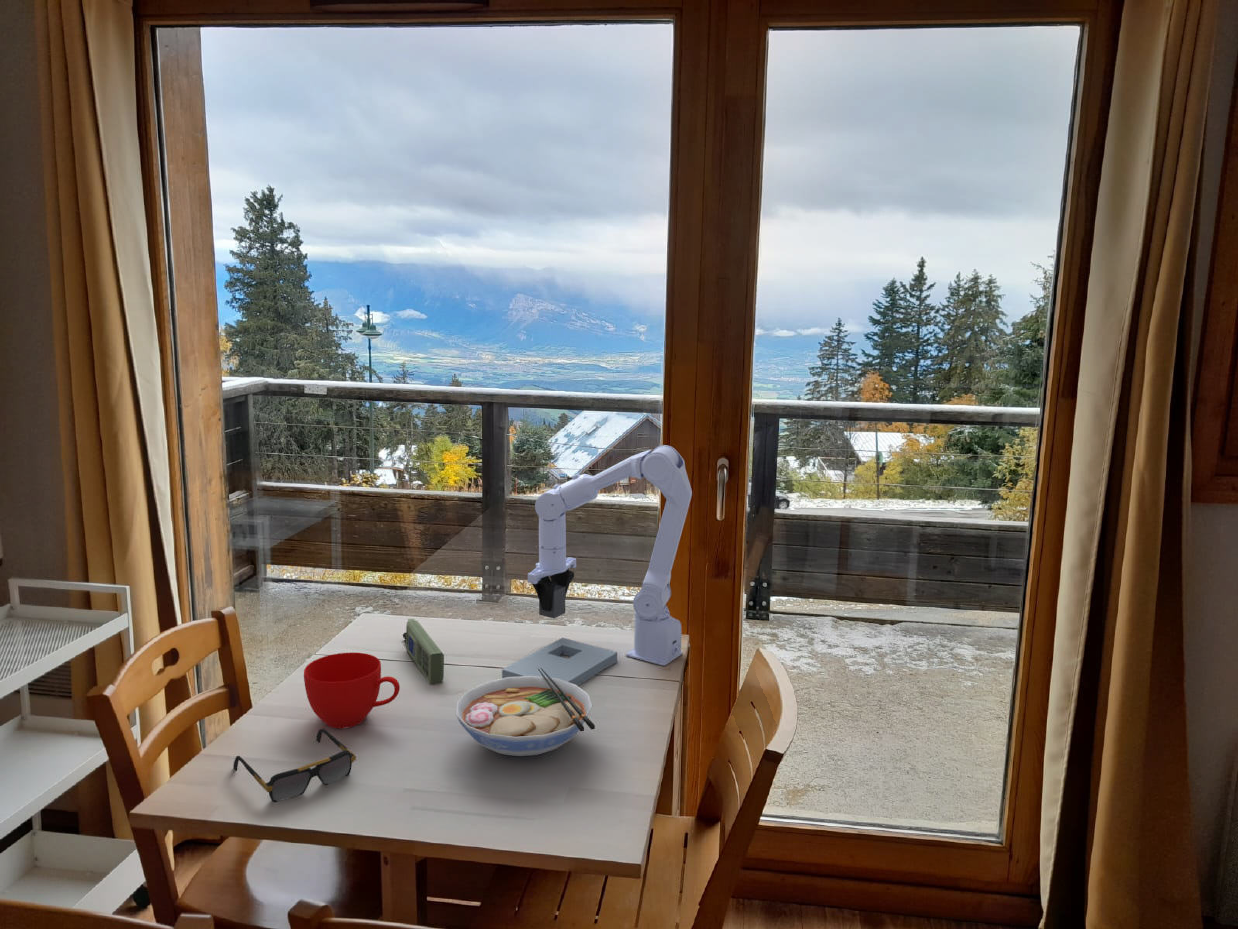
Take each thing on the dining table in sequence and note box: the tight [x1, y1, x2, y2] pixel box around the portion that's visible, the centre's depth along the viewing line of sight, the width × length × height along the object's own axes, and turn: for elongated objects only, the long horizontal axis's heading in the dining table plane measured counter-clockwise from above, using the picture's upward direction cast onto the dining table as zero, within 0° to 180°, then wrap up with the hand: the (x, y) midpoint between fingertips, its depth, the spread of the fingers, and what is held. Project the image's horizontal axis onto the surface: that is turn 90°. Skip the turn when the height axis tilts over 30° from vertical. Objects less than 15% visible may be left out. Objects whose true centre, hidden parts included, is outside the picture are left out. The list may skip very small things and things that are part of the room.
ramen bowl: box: [455, 668, 596, 757], centre depth 150 cm, size 25×23×8 cm
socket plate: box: [501, 637, 618, 687], centre depth 180 cm, size 14×20×2 cm
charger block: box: [538, 585, 566, 619], centre depth 192 cm, size 4×4×6 cm
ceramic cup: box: [303, 651, 401, 729], centre depth 157 cm, size 13×17×10 cm
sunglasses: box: [232, 727, 357, 803], centre depth 141 cm, size 14×15×5 cm
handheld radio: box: [402, 618, 445, 686], centre depth 184 cm, size 7×3×25 cm
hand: (552, 607), depth 193 cm, fingers closed on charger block, 4 cm apart
